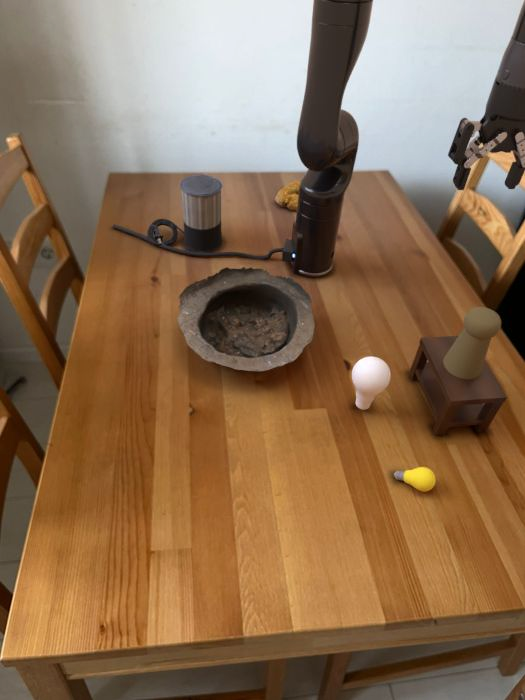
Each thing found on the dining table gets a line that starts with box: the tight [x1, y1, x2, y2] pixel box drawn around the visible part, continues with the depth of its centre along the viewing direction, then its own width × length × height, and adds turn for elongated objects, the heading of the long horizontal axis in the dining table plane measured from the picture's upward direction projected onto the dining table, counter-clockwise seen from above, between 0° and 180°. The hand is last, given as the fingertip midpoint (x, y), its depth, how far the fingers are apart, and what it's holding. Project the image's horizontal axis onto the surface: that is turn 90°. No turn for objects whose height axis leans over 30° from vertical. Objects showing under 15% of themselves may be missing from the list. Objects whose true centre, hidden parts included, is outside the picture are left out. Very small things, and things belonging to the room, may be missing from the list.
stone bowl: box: [177, 266, 316, 372], centre depth 94 cm, size 25×25×9 cm
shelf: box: [408, 335, 508, 436], centre depth 86 cm, size 9×14×9 cm, turn 7°
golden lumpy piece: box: [274, 180, 301, 212], centre depth 134 cm, size 10×11×5 cm
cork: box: [443, 306, 502, 379], centre depth 79 cm, size 6×6×11 cm
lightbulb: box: [351, 356, 392, 411], centre depth 84 cm, size 6×6×11 cm
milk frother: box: [146, 173, 224, 253], centre depth 115 cm, size 14×16×15 cm
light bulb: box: [393, 466, 437, 492], centre depth 76 cm, size 3×6×4 cm, turn 70°
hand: (483, 187), depth 82 cm, fingers open, 8 cm apart
